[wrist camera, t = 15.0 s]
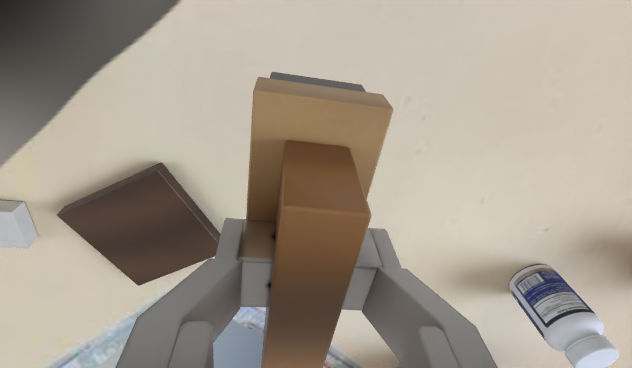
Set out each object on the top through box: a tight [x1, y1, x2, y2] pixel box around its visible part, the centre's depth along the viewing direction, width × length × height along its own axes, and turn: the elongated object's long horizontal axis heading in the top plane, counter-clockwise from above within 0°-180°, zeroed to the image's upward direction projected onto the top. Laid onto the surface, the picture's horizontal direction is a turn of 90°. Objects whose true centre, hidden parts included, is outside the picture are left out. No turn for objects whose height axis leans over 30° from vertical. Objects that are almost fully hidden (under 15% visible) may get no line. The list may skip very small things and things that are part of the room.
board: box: [57, 163, 221, 286], centre depth 29 cm, size 10×10×1 cm
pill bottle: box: [509, 265, 619, 368], centre depth 34 cm, size 5×5×10 cm
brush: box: [246, 72, 393, 368], centre depth 10 cm, size 8×4×6 cm, turn 171°
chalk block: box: [0, 200, 38, 248], centre depth 27 cm, size 4×4×2 cm
